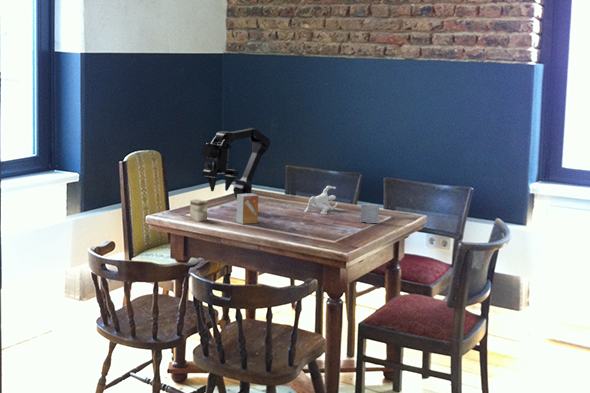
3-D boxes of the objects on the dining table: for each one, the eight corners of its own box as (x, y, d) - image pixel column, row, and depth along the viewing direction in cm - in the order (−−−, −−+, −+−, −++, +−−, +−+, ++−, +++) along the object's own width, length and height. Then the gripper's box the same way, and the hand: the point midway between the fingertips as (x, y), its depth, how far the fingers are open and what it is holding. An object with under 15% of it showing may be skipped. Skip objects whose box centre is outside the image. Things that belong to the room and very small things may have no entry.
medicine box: (378, 222, 314) (379, 204, 312) (376, 224, 310) (377, 206, 308) (362, 220, 316) (363, 203, 315) (360, 222, 312) (361, 204, 311)
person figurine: (323, 194, 323) (334, 182, 339) (299, 196, 329) (312, 185, 344) (328, 218, 326) (340, 206, 342) (305, 221, 332) (318, 208, 348)
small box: (242, 224, 299) (243, 196, 297) (235, 221, 304) (236, 193, 302) (258, 222, 303) (258, 195, 301) (251, 220, 309) (252, 192, 306)
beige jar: (199, 217, 309) (199, 198, 308) (207, 219, 306) (207, 200, 304) (190, 219, 305) (190, 200, 304) (197, 221, 302) (198, 202, 300)
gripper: (224, 156, 323) (221, 188, 325) (195, 156, 308) (193, 189, 310) (240, 159, 316) (237, 191, 318) (212, 159, 302) (209, 192, 303)
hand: (219, 191), depth 313 cm, fingers open, 9 cm apart
